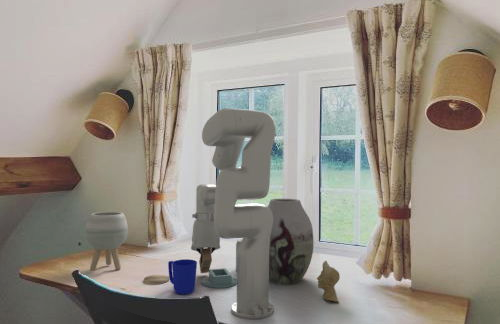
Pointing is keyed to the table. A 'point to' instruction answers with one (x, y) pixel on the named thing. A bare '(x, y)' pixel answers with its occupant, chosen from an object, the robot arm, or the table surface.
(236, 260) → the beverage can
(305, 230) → the vase
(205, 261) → the block
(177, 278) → the mug
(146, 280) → the cork lid
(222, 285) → the teal candle holder
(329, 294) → the tan head bust
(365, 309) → the table surface
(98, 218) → the planter
